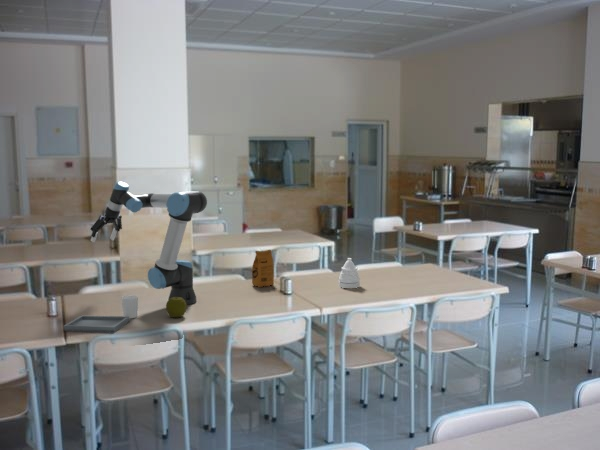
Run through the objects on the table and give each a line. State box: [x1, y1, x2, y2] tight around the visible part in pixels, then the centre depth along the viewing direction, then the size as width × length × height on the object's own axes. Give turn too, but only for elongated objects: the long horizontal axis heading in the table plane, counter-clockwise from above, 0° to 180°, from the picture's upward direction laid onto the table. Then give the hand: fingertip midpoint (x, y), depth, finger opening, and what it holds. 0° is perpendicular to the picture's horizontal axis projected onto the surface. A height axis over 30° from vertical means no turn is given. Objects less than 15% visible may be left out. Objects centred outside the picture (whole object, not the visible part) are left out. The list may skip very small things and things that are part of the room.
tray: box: [63, 315, 130, 333], centre depth 286 cm, size 24×18×2 cm
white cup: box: [121, 294, 139, 319], centre depth 302 cm, size 8×8×10 cm
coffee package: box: [251, 249, 275, 288], centre depth 373 cm, size 10×12×22 cm
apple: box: [165, 297, 188, 318], centre depth 302 cm, size 10×10×11 cm
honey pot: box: [338, 257, 361, 289], centre depth 370 cm, size 13×13×18 cm
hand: (102, 240), depth 342 cm, fingers open, 13 cm apart
